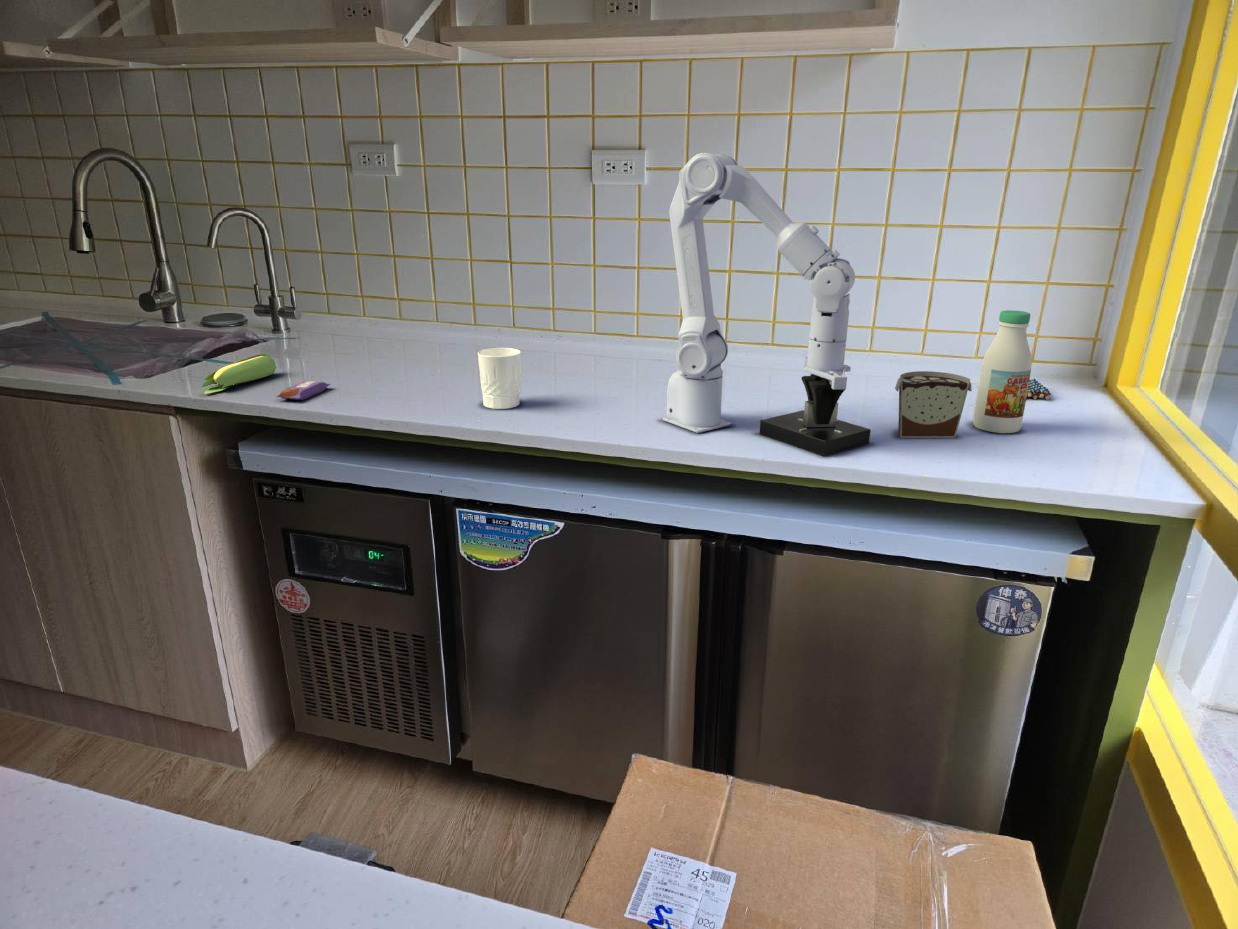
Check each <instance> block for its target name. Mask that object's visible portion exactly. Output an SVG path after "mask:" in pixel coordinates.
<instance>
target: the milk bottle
mask: <svg viewBox="0 0 1238 929" xmlns="http://www.w3.org/2000/svg"><path fill="white" fill-rule="evenodd" d="M1030 320H1031V313H1030V312H1027V311H1023V310H1014V309H1013V310H1009V309H1008V310H1002V311H1000V313H999V316H998V323H997V324H998V325H999V326H998V331H997V332H996V335H995V337H994V338H993V340H992V342H991V343H990V345H989V346H988V348H987V349H986V351H985V354H984V356H983V359H982V363H981V367H980V368H981V369H980V372H979V380H978V386H977V392H976V397H975V403H974V404H975V405H974V412H973V416H972V424H973V426H974V427H975V428H976V429H979V430H982V431H986V432H990V433H997V434H1014V433H1018V432H1019V431H1020V430H1021V429H1022V424H1023V420H1024V413H1025V409H1026V402H1027V398H1028V397H1027V392H1028V386H1029V380H1030V379H1031V374H1032V373H1031V372H1032V365H1033V364H1032V362H1033V361H1032V360H1033V359H1032V353H1031V349H1030V345H1029V342H1028V338H1027V337H1028V336H1027V329H1028V327H1029V326H1030V325H1029V324H1030Z"/></svg>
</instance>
